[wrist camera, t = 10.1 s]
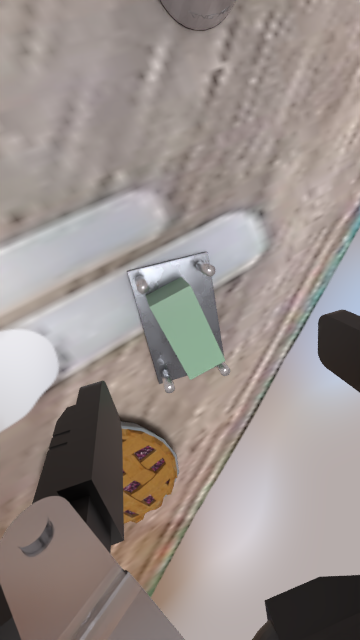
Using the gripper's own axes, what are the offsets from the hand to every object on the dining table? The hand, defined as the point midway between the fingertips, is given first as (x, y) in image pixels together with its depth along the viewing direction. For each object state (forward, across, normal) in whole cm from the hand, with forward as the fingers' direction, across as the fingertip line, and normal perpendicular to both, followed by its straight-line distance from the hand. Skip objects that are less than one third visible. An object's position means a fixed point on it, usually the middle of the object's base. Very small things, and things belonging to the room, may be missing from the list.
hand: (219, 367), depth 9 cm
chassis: (+27, -2, +10) cm, 29 cm away
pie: (+27, +15, +33) cm, 45 cm away
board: (+26, -3, +10) cm, 28 cm away
